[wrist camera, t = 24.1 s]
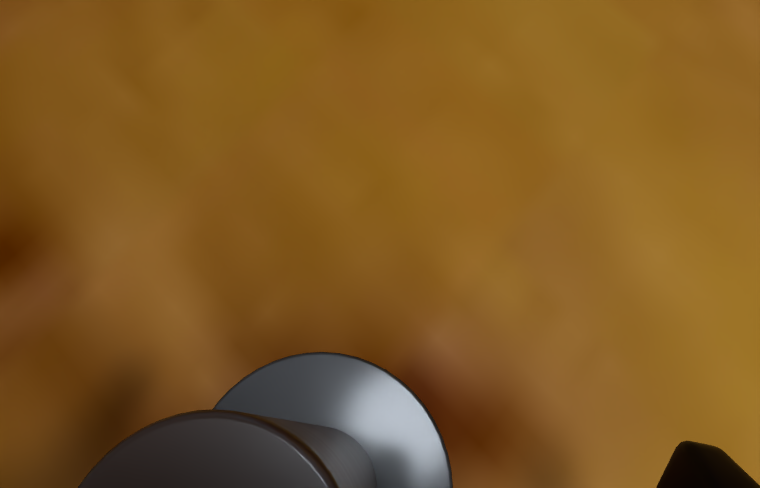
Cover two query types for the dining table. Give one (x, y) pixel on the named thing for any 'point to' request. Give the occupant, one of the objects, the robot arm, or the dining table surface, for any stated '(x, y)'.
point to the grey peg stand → (290, 434)
